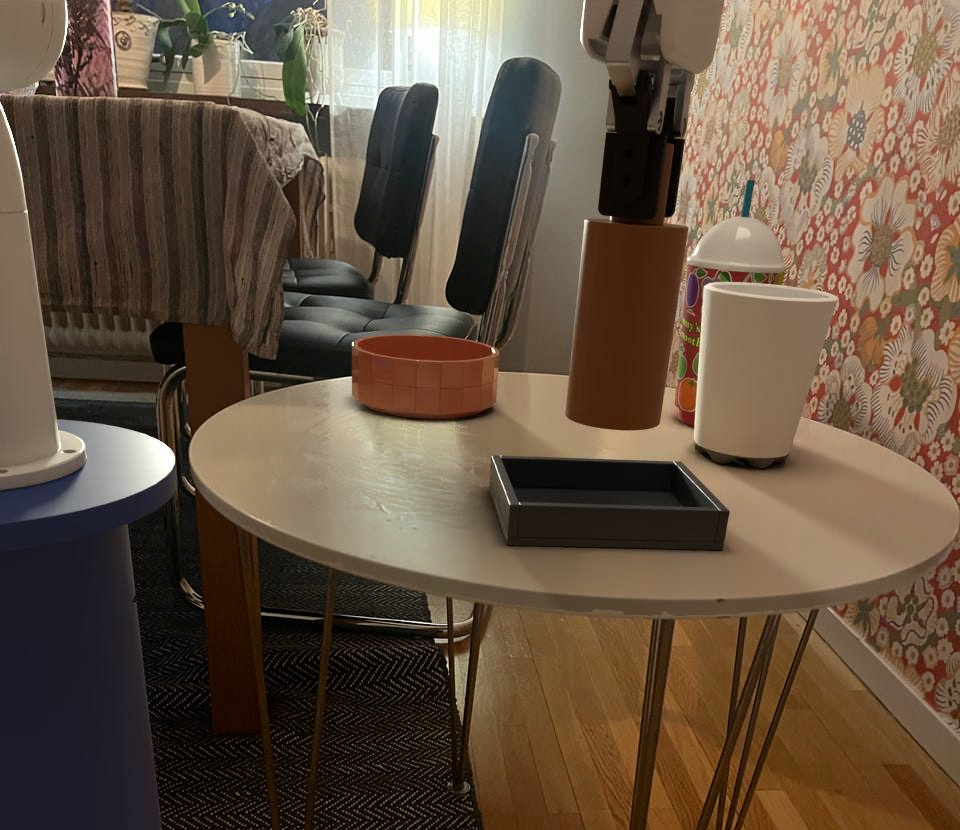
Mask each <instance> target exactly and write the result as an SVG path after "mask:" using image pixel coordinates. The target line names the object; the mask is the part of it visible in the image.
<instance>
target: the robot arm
mask: <svg viewBox="0 0 960 830" xmlns="http://www.w3.org/2000/svg"><path fill="white" fill-rule="evenodd" d="M724 2H725V0H583V7H582V15H581V25H580V44H581V46H582V48H583V50H584V51H585V53H586V54H587V55H588V57H590V59H592V60H593V61H596V62H599V63H601V64H603V65H605V66H606V70H607V72H608V76H609V80H608V89H609V93H608V101H607V108H606V115H605V129H606V132H605V137H604V149H603V156H602V165H601V176H600V186H599V195H598V205H597V211H598V213H599V215H601V216H604V217H610V216H614V217H625V218H637V219H653V218H654V217H655V216H656V215H657V212H658V205H659V197H660V190H661V182H662V175H663V167H664V160H665V152H666V144H667V143H668V144H673V145H674V151H673V158H672V166H671V173H670V180H669V188H668V195H667V203H666V210H665V217H664V219H667V218H668V219H669V218H671V217H673V216H674V215H675V213H676V210H677V209H676V208H677V202H678V193H679V187H680V180H681V172H682V166H683V158H684V151H685V144H686V139H685V136H686V134H687V129H688V120H689V112H690V103H691V95H692V92H693V89H694V87H695V86H694V85H695V80H696V75H700V74H701V73H703V72H704V71H706V70H707V69H708V68H709V67H710V66H711V65H712V63H713V60H714V57H715V53H716V48H717V45H718V44H717V43H718V39H719V33H720V27H721V23H722V16H723V9H724ZM67 29H68V7H67V0H0V91H15V90H19V89H24V88H28V87H30V86H33V85H34V84H37V83H38V82H40V81H42V80H43V79H44V78H46V76H47V75H48V74H50V72H51V71H52V70H53V69H54V68H55V66H56V64H57V63H58V61H59V59H60V57H61V55H62V53H63V50H64V46H65V42H66V37H67ZM7 119H8V118H7V116H6V113H5V112H4V108H3V106H2V104H1V103H0V491H5V490H12V489H19V488H25V487H30V486H35V485H40V484H44V483H47V482H51V481H55V480H58V479H60V478H63V477H66V476H68V475H70V474H72V473H74V472H76V471H78V470H79V469H80V468H81V467H82V466H83V465H84V464H85V462H86V460H87V455H86V447H85V444H84V442H83V441H82V440H81V439H80V438H78V437H76V436H75V435H73V434H70V433H67V432H65V431H60V430H58V425H57V412H56V411H57V410H56V405H55V404H56V403H55V397H54V391H53V384H52V375H51V369H50V363H49V362H50V361H49V354H48V348H47V341H46V333H45V326H44V320H43V313H42V311H43V310H42V305H41V297H40V291H39V283H38V277H37V269H36V263H35V262H36V261H35V255H34V248H33V241H32V235H31V228H30V220H29V219H30V218H29V213H28V207H27V200H26V194H25V187H24V180H23V174H22V170H21V165H20V159H19V155H18V153H17V148H16V145H15V144H16V143H15V141H14V137H13V134H12V130H11V128H10V125H9V122H8V120H7Z"/></svg>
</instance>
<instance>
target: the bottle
mask: <svg viewBox="0 0 960 830" xmlns="http://www.w3.org/2000/svg"><path fill="white" fill-rule="evenodd" d="M673 151H674V145H673V144H668V143H667V144H666V152H665V160H664V167H663V175H662V182H661V190H660V197H659V205H658V212H657V215H656V216H655V217H654V218H653V219H637V218H625V217H614V216H609V218H586V219H584V225H583V233H582V242H581V243H582V244H581V254H580V263H579V264H580V265H579V275H578V282H577V293H576V302H575V314H574V324H573V334H572V344H571V353H570V362H569V371H568V372H569V373H568V383H567V390H566V400H565V403H566V404H565V411H564V415H565V417H566V418H567V419H568V420H569V421H572V422H574V423H576V424H578V425H579V424H580V425H583V426H587V427H591V428H596V429H603V430H610V431H628V432H629V431H644V430H651V429H654V428H656V427H659V425H660V424H661V419H662V411H663V405H664V404H663V403H664V400H665V399H664V398H665V391H666V385H667V378H668V371H669V366H670V365H669V364H670V357H671V350H672V344H673V338H674V337H673V336H674V330H675V324H676V323H675V322H676V317H677V311H678V303H679V297H680V289H681V282H682V277H683V276H682V275H683V269H684V262H685V255H686V249H687V242H688V235H689V229H690V228H689V226H687V225H683V224H676V223H668V222H667V223H666V222H665V218H664V217H665V210H666V203H667V195H668V188H669V180H670V173H671V166H672V158H673Z"/></svg>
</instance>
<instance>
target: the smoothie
mask: <svg viewBox="0 0 960 830" xmlns="http://www.w3.org/2000/svg"><path fill="white" fill-rule="evenodd" d="M755 183H756V180H755V179H746V182H745V189H744V194H743V199H742V205H741V207H742V208H741V212H740V215H736V216H732V217H729V218H726V219H723V220H722V221H719V222H717V223H716V224H713V226H711V227H710V228H709V229H708V230H707V231H706V232H705V233H704V234H703V236H702V237H701V238H700V240H699V241H698V243H697V244H696V246H695V248H694V249H693V252H692V254H691V255H690V256H688V257H687V258H686V264H687V269H686V275H685V278H686V279H685V286H684V298H683V309H682V320H681V331H680V342H679V352H678V363H677V374H676V383H675V384H676V386H675V395H674V396H675V397H674V406H675V407H677V408H678V420H679V421H681V422H682V423H683V424H686V425H688V426H691V427H694V426H695V411H696V396H697V381H698V366H699V351H700V337H701V322H702V307H703V292H704V286H705V285H707V284H709V283H714V282H743V283H760V284H772V285H782V286H784V285H783V284H784V280H785V275H786V273H787V270H788V265H787V264H785V261H784V254H783V251H782V246H781V244H780V241H779V239H778V237H777V235H776V234H775V232H774V230H772V229H771V228H770V227H769V225H767V224H766V223H764V222H763V221H761V220H759V219H758V218H756V217H752V216H750V213H751V212H750V211H751V205H752V201H753V200H752V199H753V196H754V195H753V193H754V190H755V189H754V187H755Z"/></svg>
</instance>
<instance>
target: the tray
mask: <svg viewBox="0 0 960 830" xmlns="http://www.w3.org/2000/svg"><path fill="white" fill-rule="evenodd" d="M488 492H489V495H490V497H491V498H490V499H491V501H492V504H493V507H494V510H495V513H496V516H497V519H498V522H499V525H500V529H501V532H502V534H503V538H504V542H505V545H506V546H530V547H531V546H532V547H533V546H534V547H572V548H573V547H575V548H576V547H577V548H621V549H624V548H625V549H660V550H661V549H662V550H663V549H664V550H667V549H668V550H702V551H703V550H705V551H723V550H724V545H725V540H726V535H727V529H728V524H729V519H730V515H731V514H730V512H731V511H730V509H729V508H728V507H727V506H726V505H725V504H723V502H722V501H721V500H720V499H719V498H718V497H717V496H716V495H715V494H714V493H713V492H712V491H711V489H709V488H708V487H707V486H706V485H705V484H704V483H703V482H702V481H701V480H700V479H699V477H697V476H696V475H695V474H694V473H693V471H691V470H690V469H689V467H687V466H686V464H685V463H684V462H683V461H677V460H676V461H673V460H672V461H670V460H644V459H643V460H640V459H617V458H615V459H614V458H613V459H612V458H588V457H587V458H585V457H584V458H582V457H558V456H557V457H555V456H554V457H552V456H528V455H526V456H524V455H523V456H522V455H498V454H492V455H490V469H489V484H488Z"/></svg>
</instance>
